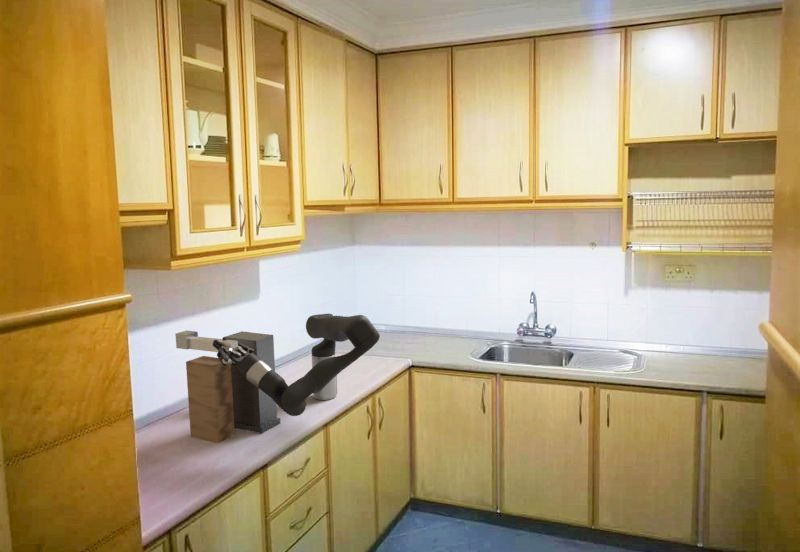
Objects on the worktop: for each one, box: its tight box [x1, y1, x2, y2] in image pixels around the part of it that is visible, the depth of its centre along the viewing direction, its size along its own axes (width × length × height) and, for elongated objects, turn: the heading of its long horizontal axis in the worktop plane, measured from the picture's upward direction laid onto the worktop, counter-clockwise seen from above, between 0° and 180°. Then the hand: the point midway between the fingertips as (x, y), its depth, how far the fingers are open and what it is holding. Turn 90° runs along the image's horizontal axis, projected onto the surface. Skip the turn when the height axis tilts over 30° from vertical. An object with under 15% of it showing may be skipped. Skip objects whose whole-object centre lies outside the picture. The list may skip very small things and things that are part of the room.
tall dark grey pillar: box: [224, 330, 281, 434], centre depth 219 cm, size 10×16×32 cm, turn 63°
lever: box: [174, 330, 238, 354], centre depth 207 cm, size 5×23×5 cm, turn 63°
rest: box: [185, 355, 236, 444], centre depth 210 cm, size 8×12×26 cm, turn 63°
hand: (218, 340), depth 205 cm, fingers closed on lever, 3 cm apart
